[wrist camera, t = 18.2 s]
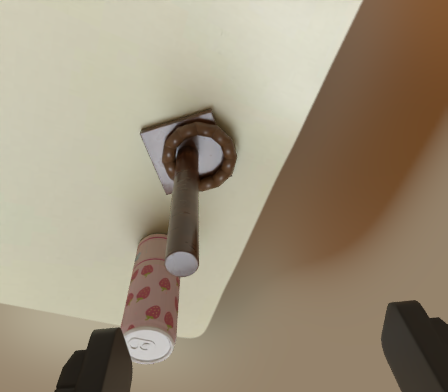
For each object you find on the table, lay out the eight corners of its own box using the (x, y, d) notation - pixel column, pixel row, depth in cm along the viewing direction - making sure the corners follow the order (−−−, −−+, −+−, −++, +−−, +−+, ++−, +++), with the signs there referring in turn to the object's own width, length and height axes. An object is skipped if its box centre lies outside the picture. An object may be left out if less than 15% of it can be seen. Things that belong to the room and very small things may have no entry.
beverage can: (133, 234, 48) (110, 331, 35) (178, 229, 48) (171, 324, 35) (142, 267, 51) (123, 368, 38) (184, 263, 51) (179, 362, 38)
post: (211, 108, 40) (220, 202, 24) (231, 172, 44) (251, 290, 28) (140, 130, 41) (102, 235, 25) (167, 190, 45) (149, 315, 29)
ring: (223, 111, 39) (224, 115, 38) (243, 175, 43) (245, 181, 42) (151, 133, 40) (150, 138, 39) (178, 194, 44) (177, 201, 43)
